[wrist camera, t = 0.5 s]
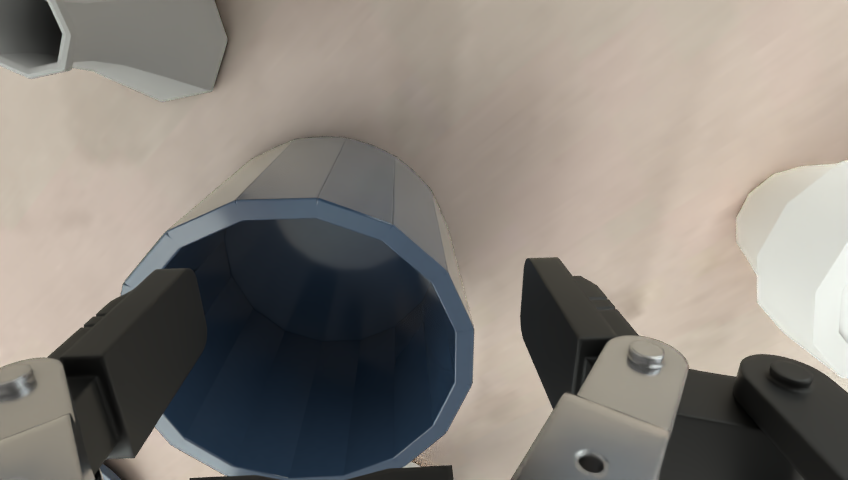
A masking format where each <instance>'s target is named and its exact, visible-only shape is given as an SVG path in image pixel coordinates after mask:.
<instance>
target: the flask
mask: <svg viewBox="0 0 848 480" xmlns="http://www.w3.org/2000/svg"><path fill="white" fill-rule="evenodd" d="M227 41H228V39H227V36H226V33H225V30H224V27H223V24H222V21H221V18H220V15H219V12H218V9H217V6H216V3H215V0H0V66H1V67H3V68H6V69H8V70H10V71H13V72H15V73H18V74H20V75H22V76H25V77H27V78H29V79H31V78H38V77H43V76H48V75H52V74H57V73H61V72H66V71H69V70H71V69H72V68H76V69H82V70H88V71H93V72H95V73H97V74H99V75H101V76H103V77H105V78H108V79H110V80H112V81H115V82H117V83H119V84H122V85H124V86H126V87H128V88H131V89H133V90H135V91H138V92H140V93H142V94H144V95H147V96H149V97H151V98H154V99H156V100H158V101H161V102H165V101H169V100H174V99H179V98H183V97H188V96H193V95H197V94H202V93H207V92H212V91H213V88H214V84H215V81H216V78H217V74H218V71H219V68H220V64H221V61H222V58H223V55H224V51H225V48H226V45H227Z"/></svg>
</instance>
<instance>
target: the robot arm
mask: <svg viewBox="0 0 848 480" xmlns="http://www.w3.org/2000/svg"><path fill="white" fill-rule="evenodd" d="M520 320H521V331H522V336H523V339H524V342H525V344H526V347H527V349H528V351H529V354H530V356H531V358H532V361H533V363H534V365H535V368H536V370H537V372H538V375H539V377H540V379H541V382H542V384H543V387H544V389H545V391H546V394H547V396H548V398H549V401H550V403H551V405H552V408H553V411H552V413H551V415H550V416H549V418H548V419H547V421H546V423H545V424H544V426H543V428H542V429H541V431H540V433H539V434H538V436H537V437H536V439H535V441H534V442H533V444H532V446H531V447H530V449H529V451H528V452H527V454H526V455H525V457H524V459H523V460H522V462H521V464H520V465H519V467H518V469H517V470H516V472H515V473H514V475H513V477H512V478H511V480H848V393H847V392H846V391H845V390H844V389H843V388H841V387H840V386H839V385H838V384H836V383H835V382H834V381H833V380H832V379H830V378H829V377H828V376H826V375H825V374H823V373H822V372H820V371H818V370H817V369H815V368H813V367H811V366H808V365H806V364H804V363H801V362H798V361H796V360H793V359H789V358H785V357H781V356H775V355H765V354H760V355H752V356H748V357H746V358H744V359H743V360H742V361H741V363H740V366H739V370H738V373H737V377H734V376H727V375H721V374H715V373H708V372H702V371H697V370H692V369H689V365H688V362H687V360H686V358H685V357H684V356H683V355H682V354H681V353H680V352H679V351H678V350H676V349H675V348H673V347H672V346H670V345H668V344H666V343H664V342H661V341H659V340H656V339H653V338H649V337H644V336H639V335H638V334H637V333H636V332H635V330H634V329H633V328H632V327H631V326H630V324H629V323H628V322H627V321H626V320H625V318H624V317H623V316H622V315H621V314H620V312H619V311H618V310H617V309H615V306H614V305H613V304H612V303H611V302H610V300H607V297H606V296H605V294H604V293H603V292H602V291H601V290H600V288H599V287H598V286H597V285H595V284H593V283H592V282H590V281H588V280H587V279H585V278H583V277H581V276H572V275H571V274H570V272H569V271H568V270H567V268H566V267H565V266H564V264H563V263H562V262H561V260H560V259H559V258H557V257H554V258H527V259H526V261H525V265H524V274H523V287H522V301H521V315H520ZM206 341H207V325H206V320H205V315H204V310H203V306H202V301H201V296H200V291H199V287H198V282H197V278H196V275H195V273H194V271H193V270H192V269H190V268H180V269H156V270H154V271H153V272H152V273H151V274H150V275H149V276H148V277H146V278H145V279H144V280H143V281H142V282H141V283H140V284H139V285H138V286H137V287H135V288H134V289H133V290H131V291H129V292H128V293H126V294H124V295H122V296H120V297H118V298H116V299H114V300H112V301H111V302H109V303H108V304H107V305H106V306H105V307H104V308H103V309H101V310H100V311H99V312H98V313H97V314H96V317H92V318H91V319H90V320H89V321H88V322H87V323H86V324H84V328H80V329H79V330H78V331H77V332H75V333H74V334H73V335H72V336H71V337H70V338H69V339H67V340H66V341H65V342H64V343H63V344H62V345H61V346H60V347H58V348H57V349H56V350H55V351H54V352H53V353H52V354H51V355H49V356H48V357H47V358H33V359H27V360H23V361H19V362H15V363H12V364H9V365H6V366H3V367H1V368H0V480H104V479H103V476H102V473H101V470H100V467H101V466H102V464H103V463H104V461H105V460H106V459H124V458H135V456H136V455H137V453H138V452H139V450H140V449H141V447H142V446H143V444H144V442H145V441H146V439H147V438H148V436H149V435H150V433H151V432H152V430H153V428H154V427H155V425H156V424H157V422H158V421H159V419H160V418H161V416H162V414H163V413H164V411H165V410H166V408H167V407H168V405H169V404H170V402H171V401H172V399H173V397H174V396H175V394H176V393H177V391H178V390H179V388H180V387H181V385H182V383H183V382H184V380H185V379H186V377H187V376H188V374H189V373H190V371H191V369H192V368H193V366H194V365H195V363H196V362H197V360H198V359H199V357H200V355H201V354H202V352H203V350H204V348H205V345H206ZM190 480H280V479H275V478H269V477H264V476H258V475H244V476H224V477H203V478H190ZM347 480H453V472H452V465H449V466H429V467H408V468H388V469H385V470H381V471H377V472H373V473H370V474H366V475H362V476H358V477H355V478H351V479H347Z"/></svg>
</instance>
